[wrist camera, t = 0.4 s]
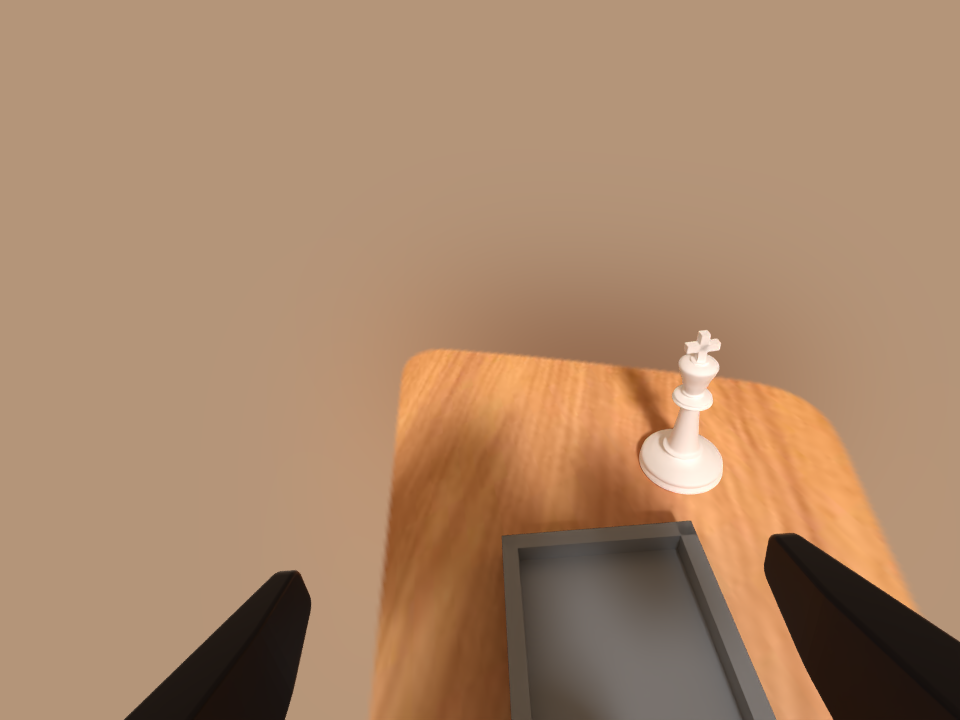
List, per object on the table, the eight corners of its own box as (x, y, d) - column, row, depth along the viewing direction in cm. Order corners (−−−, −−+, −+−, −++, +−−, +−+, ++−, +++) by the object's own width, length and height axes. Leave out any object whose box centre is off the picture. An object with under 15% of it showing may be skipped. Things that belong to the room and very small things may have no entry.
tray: (814, 857, 16) (831, 847, 15) (522, 866, 17) (518, 858, 16) (686, 540, 26) (690, 520, 25) (504, 554, 26) (501, 535, 25)
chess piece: (737, 490, 28) (780, 355, 22) (653, 499, 28) (673, 367, 22) (702, 431, 32) (731, 303, 26) (629, 439, 32) (641, 314, 26)
